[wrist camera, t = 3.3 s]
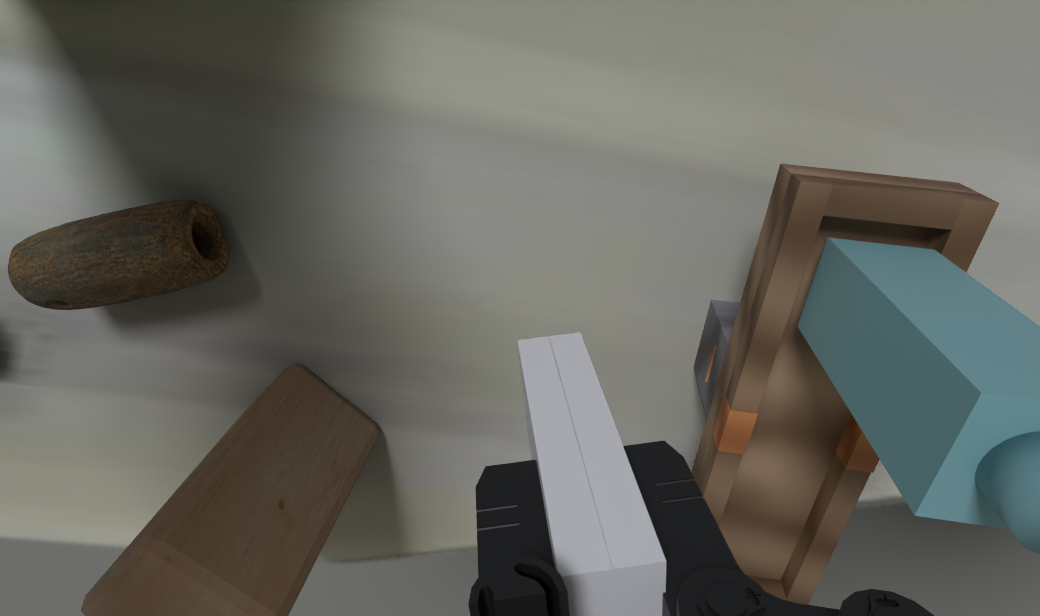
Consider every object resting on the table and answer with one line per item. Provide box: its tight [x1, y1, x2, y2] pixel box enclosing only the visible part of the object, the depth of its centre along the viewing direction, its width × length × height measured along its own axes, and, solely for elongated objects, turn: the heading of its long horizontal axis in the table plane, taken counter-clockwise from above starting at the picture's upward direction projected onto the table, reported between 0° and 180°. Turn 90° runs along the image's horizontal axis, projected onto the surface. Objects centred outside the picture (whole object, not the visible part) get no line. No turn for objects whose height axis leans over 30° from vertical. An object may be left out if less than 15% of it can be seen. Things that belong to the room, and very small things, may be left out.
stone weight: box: [8, 200, 229, 310], centre depth 44 cm, size 15×7×7 cm, turn 107°
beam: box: [692, 164, 999, 605], centre depth 40 cm, size 30×9×12 cm, turn 175°
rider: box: [798, 238, 1040, 554], centre depth 24 cm, size 5×5×16 cm
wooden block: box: [81, 364, 379, 616], centre depth 45 cm, size 10×10×20 cm
